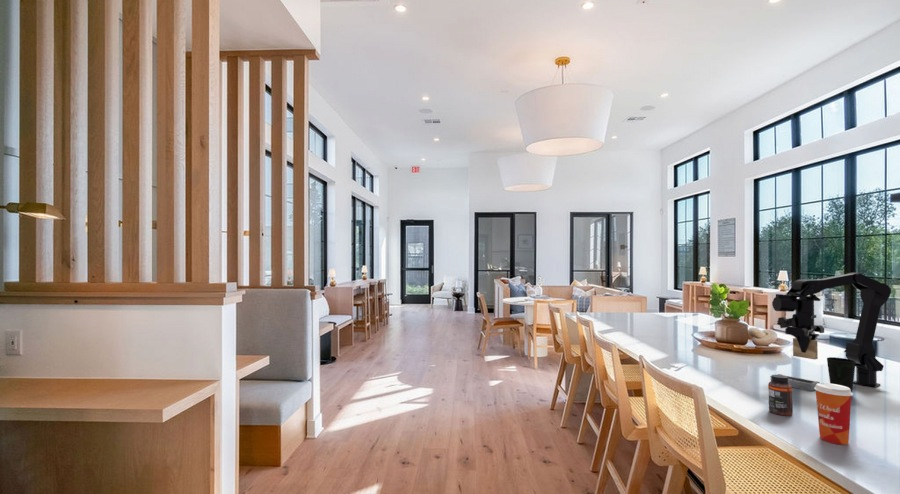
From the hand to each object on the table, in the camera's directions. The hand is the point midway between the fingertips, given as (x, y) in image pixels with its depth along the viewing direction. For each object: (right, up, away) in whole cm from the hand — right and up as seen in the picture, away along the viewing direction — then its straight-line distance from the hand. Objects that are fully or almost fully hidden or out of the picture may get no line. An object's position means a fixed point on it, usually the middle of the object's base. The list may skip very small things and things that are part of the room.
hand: (805, 352), depth 171 cm
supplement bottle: (-37, -10, -36) cm, 53 cm away
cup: (+1, -11, -15) cm, 19 cm away
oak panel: (0, -2, 0) cm, 2 cm away
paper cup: (-39, -10, -57) cm, 69 cm away
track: (-8, -11, -5) cm, 15 cm away
